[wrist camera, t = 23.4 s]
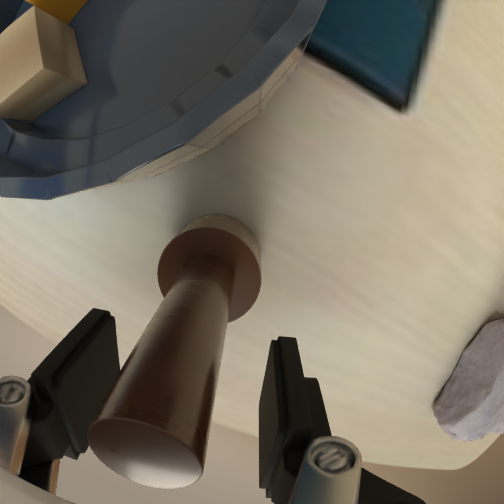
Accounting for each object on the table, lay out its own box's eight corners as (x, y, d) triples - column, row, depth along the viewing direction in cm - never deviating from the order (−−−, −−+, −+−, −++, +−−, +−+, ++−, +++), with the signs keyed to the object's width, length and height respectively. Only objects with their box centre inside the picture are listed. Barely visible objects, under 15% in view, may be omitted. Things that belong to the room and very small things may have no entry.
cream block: (22, 66, 12) (-22, 54, 8) (74, 28, 12) (34, 4, 8) (33, 121, 13) (-15, 118, 9) (87, 83, 13) (43, 67, 9)
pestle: (245, 203, 15) (211, 339, 4) (270, 285, 16) (292, 503, 5) (161, 229, 16) (-1, 373, 4) (191, 306, 17) (114, 506, 5)
